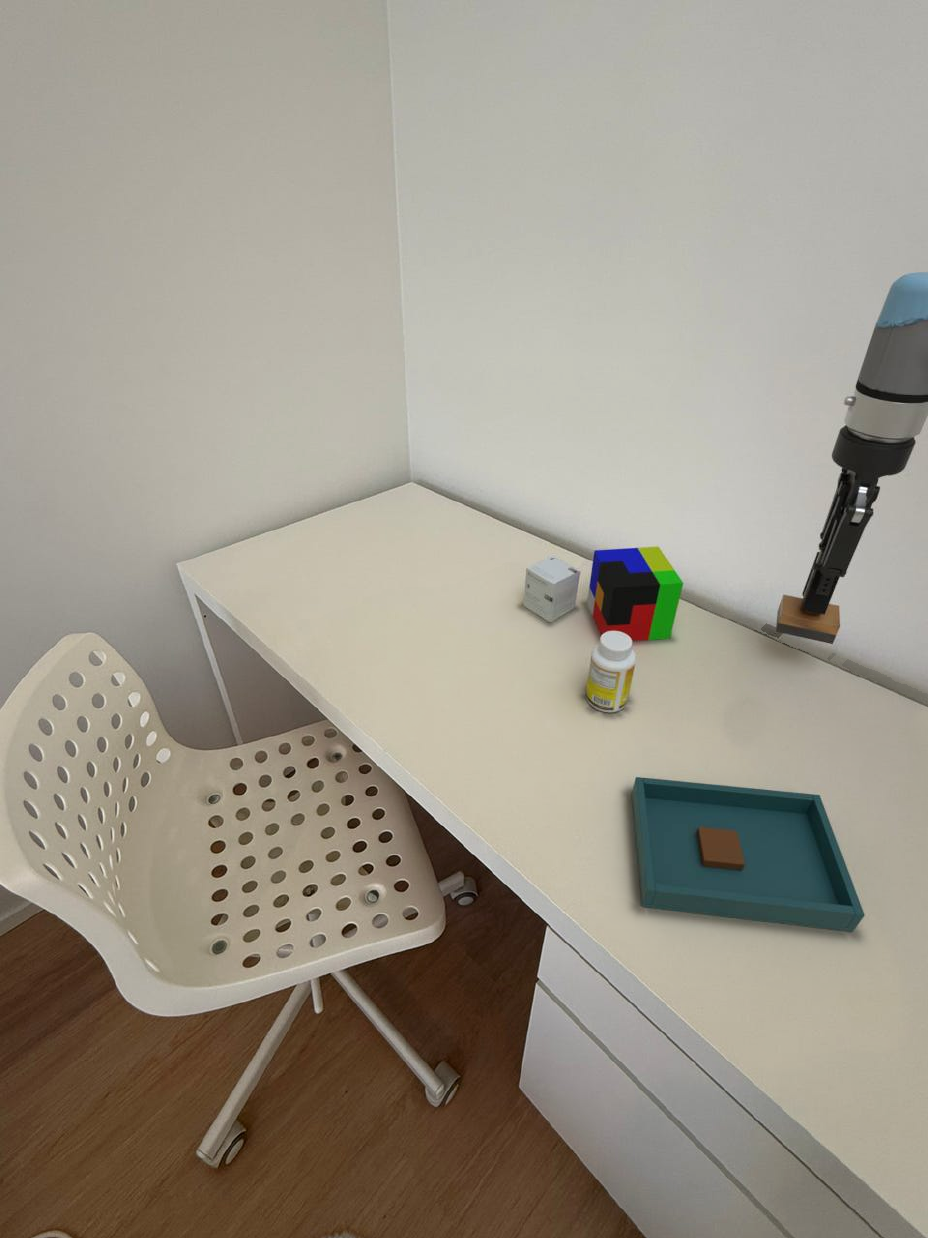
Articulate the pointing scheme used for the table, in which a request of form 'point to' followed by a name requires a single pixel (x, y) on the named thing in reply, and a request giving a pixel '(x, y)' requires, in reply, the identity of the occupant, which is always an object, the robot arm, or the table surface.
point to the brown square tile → (720, 849)
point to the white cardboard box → (551, 588)
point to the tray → (772, 851)
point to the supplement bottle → (611, 672)
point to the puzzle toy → (634, 592)
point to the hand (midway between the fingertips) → (813, 603)
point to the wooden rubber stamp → (808, 617)
